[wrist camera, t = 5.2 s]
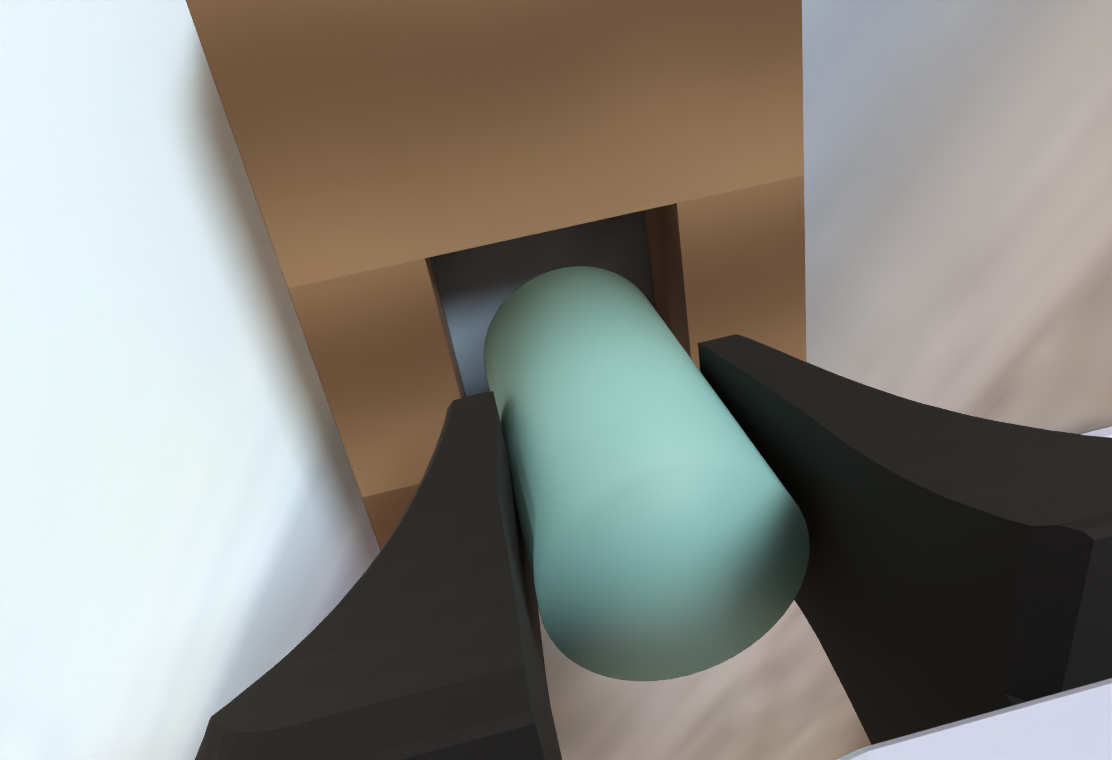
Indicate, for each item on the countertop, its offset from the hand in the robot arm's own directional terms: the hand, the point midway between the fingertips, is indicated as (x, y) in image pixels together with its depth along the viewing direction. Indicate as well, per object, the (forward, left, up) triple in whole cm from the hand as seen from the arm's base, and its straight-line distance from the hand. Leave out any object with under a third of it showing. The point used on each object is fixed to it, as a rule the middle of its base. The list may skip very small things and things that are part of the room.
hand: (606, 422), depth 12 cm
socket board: (+1, 0, -5) cm, 5 cm away
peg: (0, 0, -2) cm, 2 cm away
